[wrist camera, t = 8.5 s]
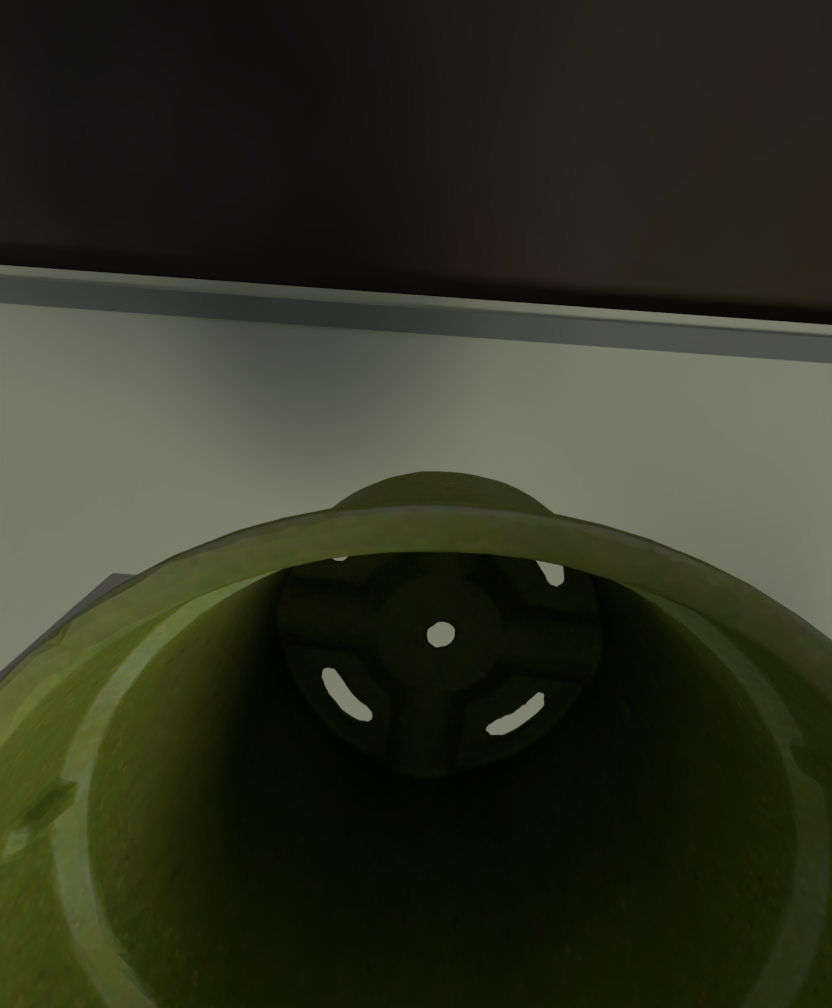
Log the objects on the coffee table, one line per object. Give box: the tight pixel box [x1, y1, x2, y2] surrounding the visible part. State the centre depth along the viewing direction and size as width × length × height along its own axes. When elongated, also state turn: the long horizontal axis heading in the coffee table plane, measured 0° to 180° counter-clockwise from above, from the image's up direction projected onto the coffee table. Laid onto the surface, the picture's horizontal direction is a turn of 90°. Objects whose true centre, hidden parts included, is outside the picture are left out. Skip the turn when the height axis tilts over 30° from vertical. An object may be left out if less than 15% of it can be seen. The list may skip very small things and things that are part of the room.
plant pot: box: [0, 471, 832, 1008], centre depth 11 cm, size 9×9×9 cm
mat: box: [0, 265, 832, 735], centre depth 17 cm, size 26×15×10 cm, turn 86°
